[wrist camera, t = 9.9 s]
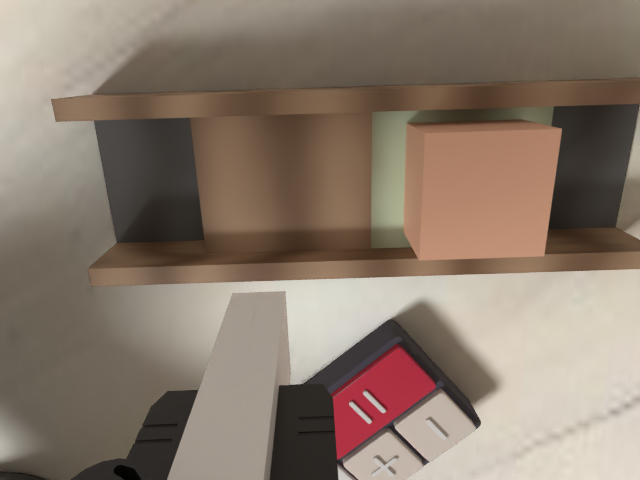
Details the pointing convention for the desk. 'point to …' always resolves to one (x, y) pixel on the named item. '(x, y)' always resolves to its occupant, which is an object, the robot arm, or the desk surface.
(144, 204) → the trap channel
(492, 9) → the desk surface
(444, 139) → the block
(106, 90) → the desk surface
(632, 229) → the desk surface
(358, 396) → the calculator
